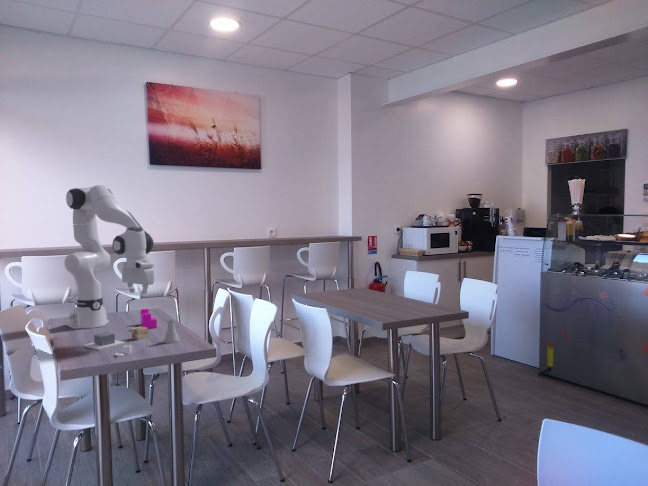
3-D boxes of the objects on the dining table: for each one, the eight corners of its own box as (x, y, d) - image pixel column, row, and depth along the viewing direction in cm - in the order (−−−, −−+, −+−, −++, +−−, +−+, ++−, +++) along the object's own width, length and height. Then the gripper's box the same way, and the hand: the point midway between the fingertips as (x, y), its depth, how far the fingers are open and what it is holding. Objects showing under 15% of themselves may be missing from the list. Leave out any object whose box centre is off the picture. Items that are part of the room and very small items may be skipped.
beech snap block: (132, 339, 236) (131, 328, 236) (141, 336, 240) (141, 326, 240) (138, 340, 233) (137, 329, 233) (148, 338, 237) (147, 327, 237)
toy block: (156, 328, 258) (156, 313, 257) (143, 329, 255) (142, 314, 255) (153, 322, 272) (153, 308, 271) (141, 323, 269) (140, 309, 268)
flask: (164, 345, 224) (163, 322, 223) (161, 341, 231) (160, 319, 230) (181, 343, 227) (180, 320, 227) (178, 339, 234) (177, 317, 233)
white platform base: (84, 346, 224) (83, 335, 224) (110, 340, 234) (109, 329, 233) (99, 351, 217) (98, 339, 216) (125, 344, 226) (124, 333, 226)
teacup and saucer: (114, 359, 205) (114, 349, 204) (114, 354, 212) (114, 344, 212) (138, 357, 208) (138, 347, 208) (137, 352, 215) (136, 342, 215)
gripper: (117, 262, 238) (119, 292, 239) (143, 264, 226) (145, 296, 227) (130, 261, 243) (131, 290, 244) (156, 263, 231) (157, 294, 232)
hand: (138, 293), depth 235 cm, fingers open, 8 cm apart
